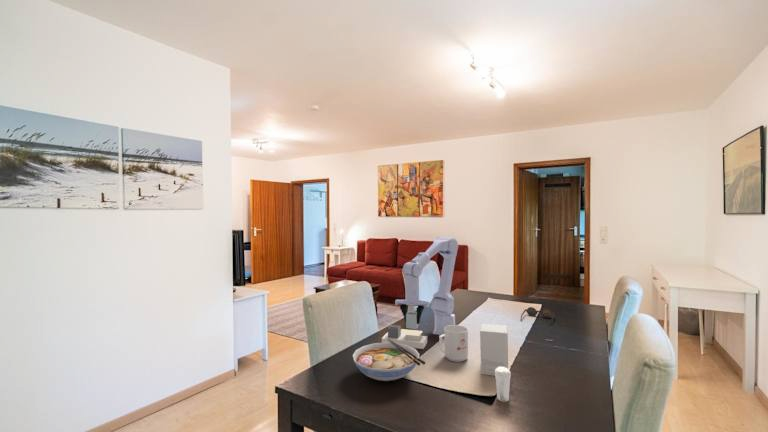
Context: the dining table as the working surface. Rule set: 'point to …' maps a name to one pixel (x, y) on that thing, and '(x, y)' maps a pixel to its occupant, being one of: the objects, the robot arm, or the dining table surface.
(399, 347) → the ramen bowl
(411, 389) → the dining table surface
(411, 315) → the plug block
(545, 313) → the eyeglasses
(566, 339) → the dining table surface
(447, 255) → the robot arm
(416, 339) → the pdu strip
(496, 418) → the dining table surface
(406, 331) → the pad
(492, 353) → the supplement box
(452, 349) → the mug
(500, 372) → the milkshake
